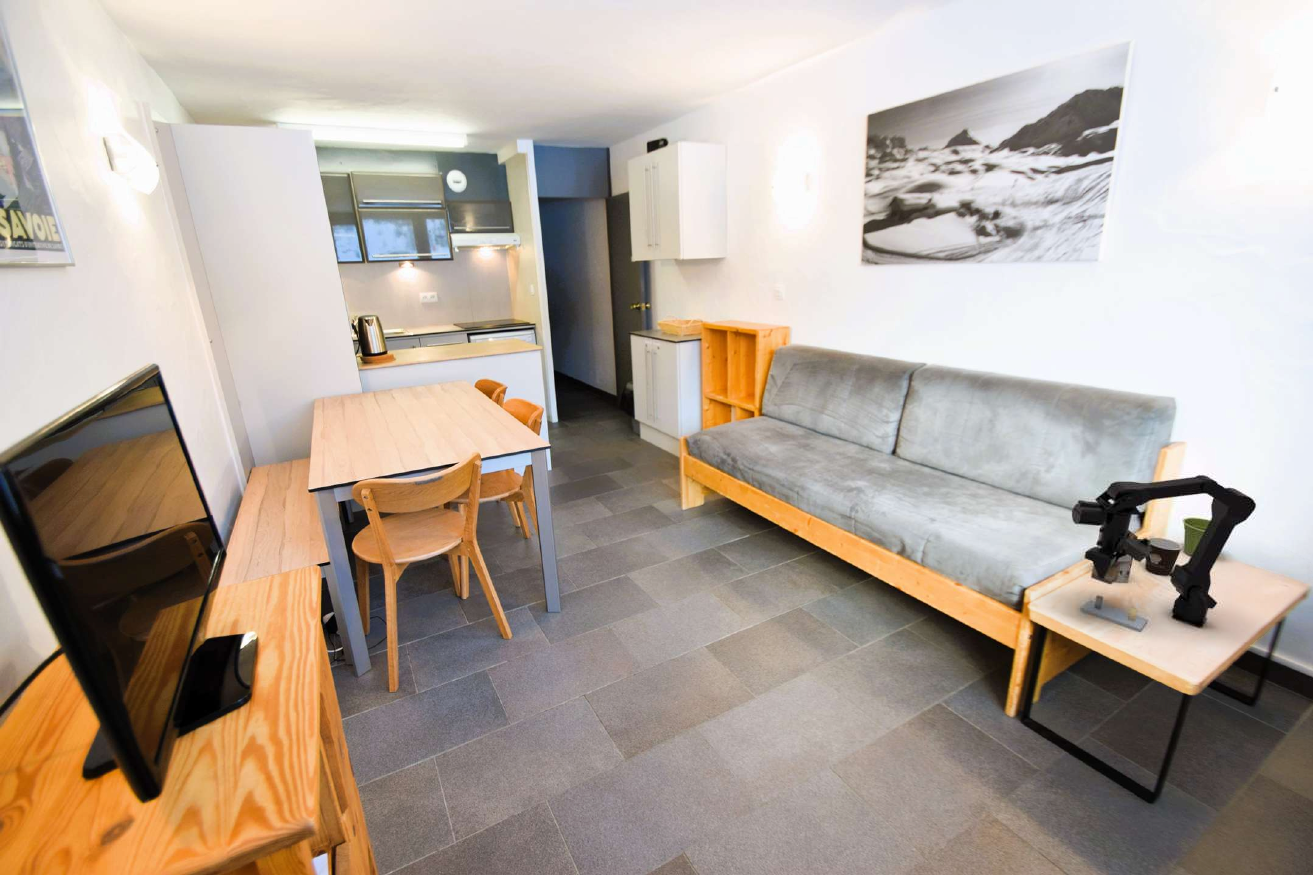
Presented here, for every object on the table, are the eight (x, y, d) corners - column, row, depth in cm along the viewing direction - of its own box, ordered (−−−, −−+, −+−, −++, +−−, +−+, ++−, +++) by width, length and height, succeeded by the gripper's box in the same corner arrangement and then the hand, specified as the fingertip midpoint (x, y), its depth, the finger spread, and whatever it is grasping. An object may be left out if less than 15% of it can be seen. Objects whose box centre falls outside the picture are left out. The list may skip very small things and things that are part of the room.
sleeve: (1097, 572, 172) (1101, 557, 171) (1117, 579, 169) (1120, 563, 167) (1090, 577, 170) (1094, 562, 168) (1110, 584, 166) (1113, 568, 165)
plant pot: (1190, 562, 196) (1198, 531, 192) (1167, 546, 207) (1174, 516, 203) (1231, 564, 194) (1239, 533, 190) (1205, 547, 205) (1212, 518, 201)
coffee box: (1129, 583, 185) (1139, 537, 180) (1106, 581, 186) (1115, 535, 182) (1113, 568, 194) (1122, 524, 189) (1091, 567, 195) (1100, 523, 190)
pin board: (1147, 622, 165) (1150, 608, 164) (1140, 632, 161) (1143, 618, 160) (1089, 601, 176) (1091, 588, 175) (1081, 610, 172) (1083, 597, 171)
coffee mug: (1182, 577, 187) (1189, 549, 184) (1155, 578, 187) (1161, 550, 184) (1153, 559, 198) (1159, 533, 195) (1127, 560, 198) (1133, 533, 195)
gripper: (1137, 546, 153) (1125, 598, 158) (1163, 527, 163) (1151, 576, 168) (1088, 531, 162) (1078, 581, 166) (1116, 514, 172) (1105, 561, 176)
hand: (1104, 575), depth 169 cm, fingers closed on sleeve, 5 cm apart
